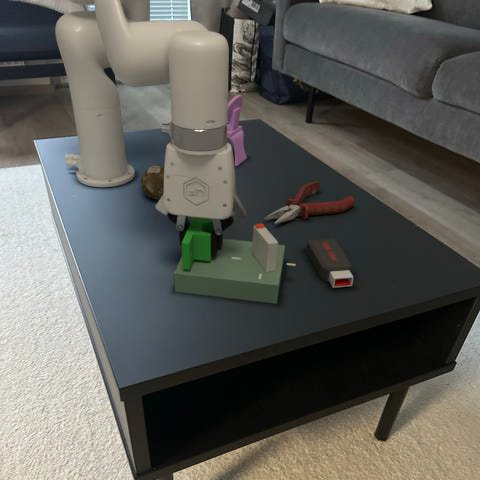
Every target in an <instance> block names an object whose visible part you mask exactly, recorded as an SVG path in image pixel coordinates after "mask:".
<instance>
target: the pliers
mask: <svg viewBox="0 0 480 480" xmlns="http://www.w3.org/2000/svg"><path fill="white" fill-rule="evenodd" d="M319 190H320V182H319V181H312V182H310V183H307V184H305V185H302V186H301V187H300V188H299V189H298V192H297V193H296V195H295V197H294V199H293V198H288V199H287V200H286V201H285V204H284V205H285V206H283V207H280V208H278V209H277V210H275V211H274V212H272V213H270V214H268V215H266V216H265V217H263V220H264V221H266V220H274V219H277V220H276V221H274V223H273V226H274V225H278V224H281V223H285V222H289V221H292V220H294V219H295V218H296V217H298V218H302V219H303V220H308V219H309V216H323V215H336V214H342V213H344V212H346V211H348V210H350V209H352V208H353V207H354V206H355V202H356V200H355V198H354V196H351V195H349V196H347V197H345V198H343V199H341V200H340V199H339V200H335V201H324V202H308V203H307V202H303V201H304V200H305V199H306V198H307V197H309V196H312V195H315V194H316V193H318V192H319Z"/></svg>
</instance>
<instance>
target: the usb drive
mask: <svg viewBox="0 0 480 480" xmlns="http://www.w3.org/2000/svg"><path fill="white" fill-rule="evenodd" d="M305 252H306V255H307V256H308V258H309V260H310V262H311V264H312V265H313V267H314V269H315V272H316V273H317V275H318V276H319V278H320V279H321V280H322V281H324V282H325V283H329V284H330V286H331V288H332V289H333V288H334V289H335V288H345V287H352V286H353V284H354V279H355V277H354V276H353V273H352V270H353V264H352V263H351V261H350V260H349V258H348V256H347V255H346V254H345V252H344V251H343V249H342V248H341V245H340V244H339V243H338V241H337V240H335V239H333V238H330V239H329V238H327V239H313V240H309V241H308V242H307V243H306V248H305Z"/></svg>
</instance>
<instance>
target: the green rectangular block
mask: <svg viewBox="0 0 480 480" xmlns="http://www.w3.org/2000/svg"><path fill="white" fill-rule="evenodd" d="M252 243H253V241H249V240H239V239H229V238H223V244H222V249H221V250H218V252H217V255H216V257H212V256H211V260H210V261H205V260H195V259H194V260H193V263H192V265H191V268H190V269H183V264H182V257H181V258H180V260H179V262H178V263H177V266H176V268H175V270H174V273H173V278H174V292H175V293H181V294H189V295H199V296H207V297H217V298H224V299H233V300H241V301H248V302H249V301H250V302H258V303H266V304H275V305H277V304H278V299H279V294H280V286H281V282H282V281H281V280H282V275H283V268H284V260H285V251H286V245H285V244H278V250H277V261H276V270H275V271H270V272H266V271H265V270H264V268H263V267H262V266H261V264H260V263H259V262H258V260H257V259H256V258H255V256H254V255H253V254H252ZM296 265H297V264H296V263H288V262H287V263H286V266H291V267H296Z"/></svg>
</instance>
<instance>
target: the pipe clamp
mask: <svg viewBox="0 0 480 480" xmlns="http://www.w3.org/2000/svg"><path fill="white" fill-rule="evenodd" d="M189 223H190V225H189V227H188V230H187V232H186V234H185V237H184V239H183V241H182V246H181V258H182V264H183V269H190V268H191V265H192V263H193V260H194V259H195V260H205V261H210V260H211V234H212V232H213V229H214V226H213V221H212V219H206V218H196V217H191V221H190V222H189Z"/></svg>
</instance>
